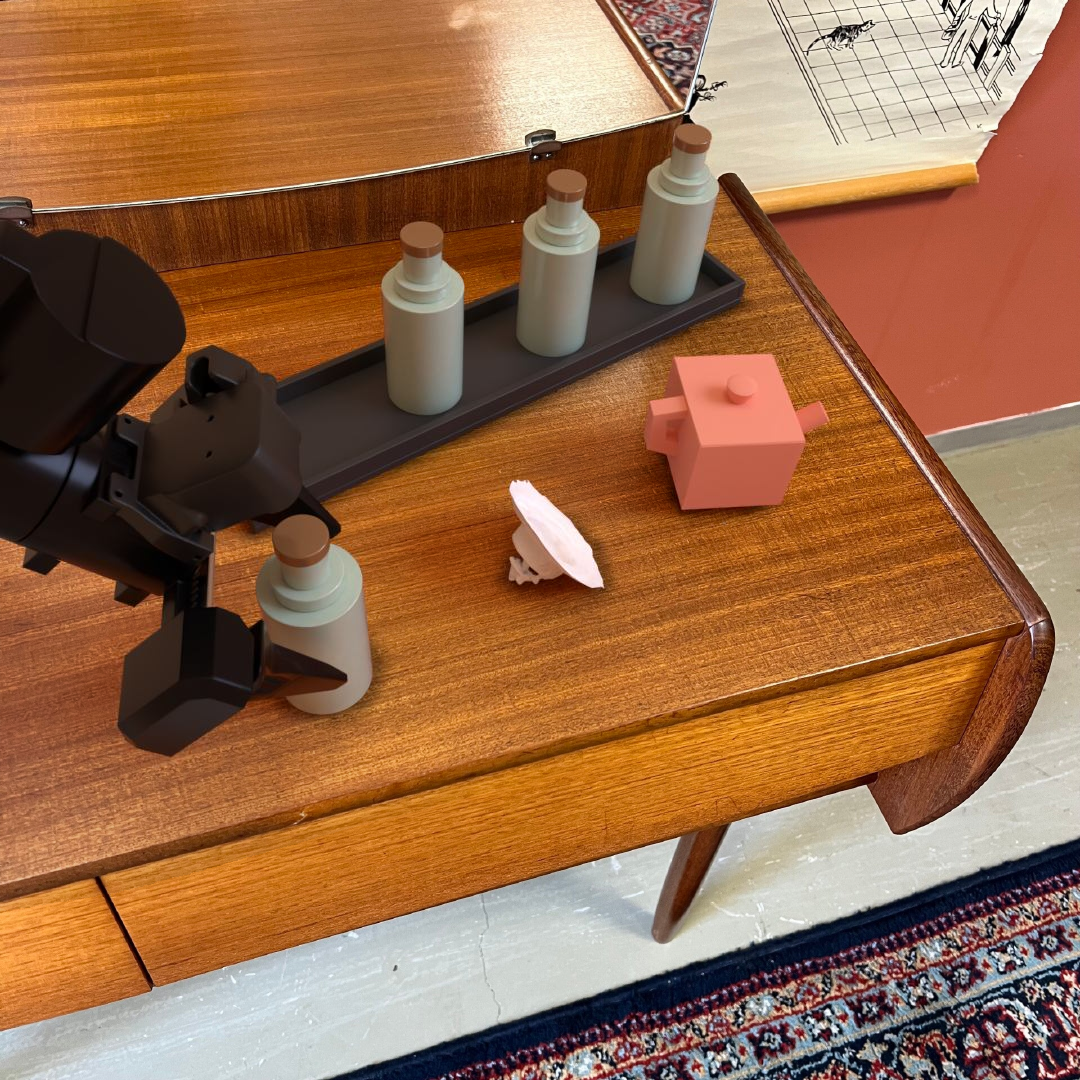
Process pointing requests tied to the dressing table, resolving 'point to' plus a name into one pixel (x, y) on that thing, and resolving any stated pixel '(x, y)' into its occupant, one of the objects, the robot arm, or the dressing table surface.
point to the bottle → (317, 608)
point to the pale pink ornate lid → (548, 541)
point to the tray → (477, 374)
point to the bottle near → (423, 324)
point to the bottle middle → (557, 269)
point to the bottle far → (675, 220)
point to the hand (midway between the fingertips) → (339, 604)
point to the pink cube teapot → (729, 430)
